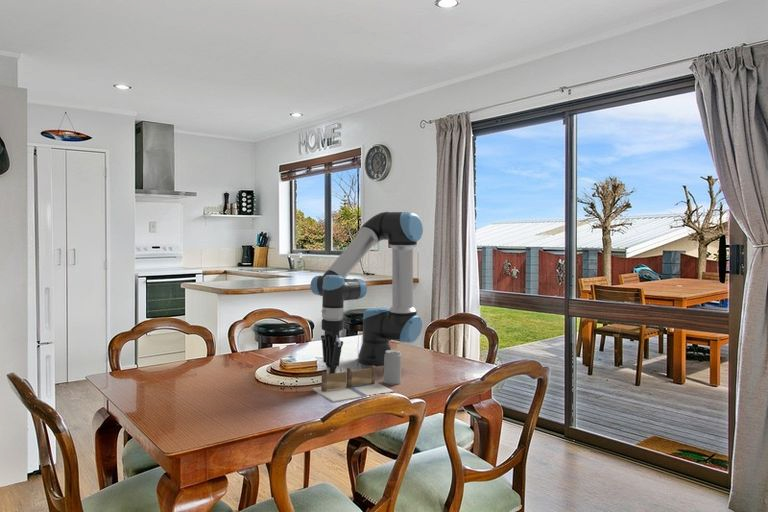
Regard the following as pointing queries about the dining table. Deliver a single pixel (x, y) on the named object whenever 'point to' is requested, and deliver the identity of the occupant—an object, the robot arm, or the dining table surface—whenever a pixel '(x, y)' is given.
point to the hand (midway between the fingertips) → (330, 384)
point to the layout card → (352, 391)
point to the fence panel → (333, 380)
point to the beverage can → (392, 367)
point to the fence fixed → (360, 376)
